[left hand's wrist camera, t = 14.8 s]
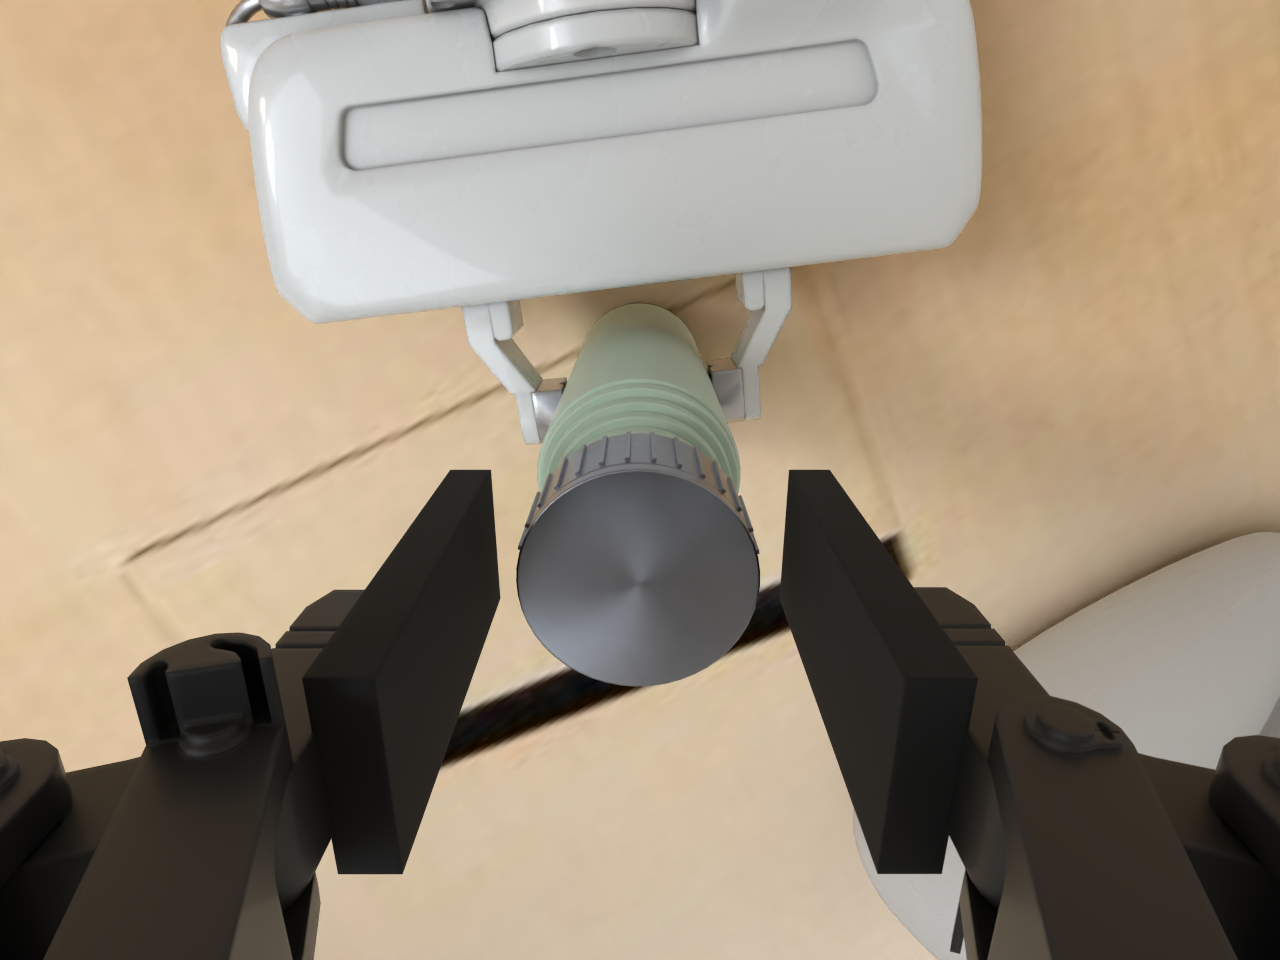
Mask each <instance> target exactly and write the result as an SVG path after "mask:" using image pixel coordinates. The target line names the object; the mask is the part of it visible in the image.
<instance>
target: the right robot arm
mask: <svg viewBox="0 0 1280 960" xmlns="http://www.w3.org/2000/svg"><path fill="white" fill-rule="evenodd" d="M262 9H263V11H264V12H265V14H266V15H267V16H268V17H270V18H273V19H266V20H259V21H252V22H248V21H249V20H250V18H251V17H252V16H253V15H255V14H256V13H257V12H259V11H261V10H262ZM220 44H221V55H222V61H223V64H224V68H225V72H226V75H227V79H228V83H229V86H230V90H231V94H232V97H233V101H234V105H235V108H236V111H237V113H238V116H239V118H240V120H241V122H242V123H243V125H244V127H245V128H246V130H247V131H248V133H249V135H250V146H251V155H252V164H253V172H254V181H255V188H256V194H257V201H258V207H259V214H260V220H261V225H262V230H263V236H264V241H265V246H266V251H267V255H268V260H269V265H270V269H271V273H272V277H273V280H274V284H275V286H276V289H277V291H278V292H279V294H280V296H281V297H282V298H283V299H284V300H285V301H286V302H288V303H289V304H290V305H291V306H292V307H293V308H294V309H295V310H296V311H297V312H299V313H300V314H301V315H302V316H303V317H304V318H306V319H307V320H308V321H310V322H312V323H315V324H323V323H332V322H340V321H349V320H357V319H365V318H373V317H382V316H390V315H398V314H407V313H415V312H423V311H431V310H440V309H448V308H456V307H462V311H463V316H464V321H465V326H466V331H467V336H468V341H469V345H470V346H471V348H472V349H473V350H474V351H475V352H476V353H477V355H478V356H479V357H480V358H481V359H482V361H483V362H484V363H485V364H486V365H487V366H488V368H489V369H490V370H491V371H492V372H493V373H494V375H495V376H496V377H497V378H498V379H499V381H500V382H501V383H502V384H503V385H504V386H505V388H506V389H507V390H508V391H509V392H510V393H511V394H515V395H516V401H517V406H518V412H519V417H520V423H521V428H522V434H523V439H524V441H525V443H526V445H530V444H541V443H543V441H544V438H545V436H546V433H547V431H548V428H549V426H550V423H551V421H552V419H553V416H554V414H555V411H556V409H557V406H558V404H559V402H560V399H561V397H562V394H563V392H564V389H565V387H566V385H567V378H555V379H544V380H542V377H541V376H540V375H539V373H538V372H537V371H536V369H535V368H534V367H533V366H532V364H531V363H530V362H529V360H528V359H527V358H526V356H525V355H524V354H523V352H522V351H521V350H520V349H519V347H518V346H517V345H516V343H515V342H514V341H513V339H512V337H513V336H514V335H515V334H516V333H517V332H518V331H519V330H520V328H521V327H522V326H523V319H522V313H521V307H520V301H519V300H522V299H530V298H539V297H547V296H555V295H563V294H572V293H580V292H588V291H596V290H605V289H613V288H621V287H629V286H638V285H646V284H654V283H662V282H671V281H679V280H687V279H695V278H704V277H712V276H720V275H728V274H735V280H736V292H737V300H738V301H739V302H740V303H741V304H742V305H743V306H744V307H745V308H747V309H748V310H749V311H751V313H750V315H749V317H748V319H747V322H746V324H745V326H744V328H743V330H742V332H741V335H740V337H739V339H738V341H737V343H736V346H735V348H734V350H733V352H732V354H731V358H725V359H718V360H711V361H707V371H708V376H709V378H710V381H711V383H712V386H713V388H714V391H715V393H716V396H717V398H718V401H719V403H720V406H721V408H722V411H723V413H724V416H725V418H726V421H727V422H735V421H744V420H753V419H760V415H761V404H760V388H759V372H758V366H761V365H763V363H764V361H765V359H766V357H767V355H768V353H769V351H770V349H771V347H772V345H773V343H774V341H775V339H776V337H777V335H778V333H779V331H780V329H781V327H782V325H783V323H784V321H785V319H786V317H787V316H788V314H789V312H790V310H791V308H792V299H791V274H790V267H794V266H803V265H811V264H819V263H827V262H836V261H844V260H852V259H860V258H869V257H877V256H885V255H893V254H902V253H910V252H918V251H926V250H934V249H942V248H946V247H948V246H950V245H951V244H952V243H953V242H954V241H955V240H956V239H957V237H958V236H959V235H960V233H961V232H962V230H963V229H964V228H965V226H966V225H967V223H968V222H969V220H970V219H971V217H972V216H973V214H974V213H975V211H976V209H977V207H978V205H979V200H980V194H981V183H982V104H981V87H980V71H979V61H978V50H977V41H976V32H975V23H974V17H973V12H972V8H971V4H970V0H241V1H240V2H239V3H238V4H237V5H236V7H235V8H234V9H233V11H232V12H231V14H230V16H229V18H228V20H227V23H226V26H225V28H224V29H223V31H222V33H221V40H220Z"/></svg>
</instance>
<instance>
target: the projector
mask: <svg viewBox="0 0 1280 960" xmlns="http://www.w3.org/2000/svg"><path fill="white" fill-rule="evenodd" d="M1013 652H1014V653H1015V654H1016V655H1017V657H1018V658H1019V659H1020V660H1021V661H1022V663H1023V664H1024V665H1025V666H1026V667H1027V669H1028V670H1029V671H1030V672H1031V673H1032V675H1033V676H1034V677H1035V678H1036V679H1037V681H1038V682H1039V683H1040V684H1041V685H1042V687H1043V688H1044V689H1045V690H1046V691H1047V693H1048V694H1049V695H1050V696H1053V697H1057V698H1061V699H1065V700H1069V701H1073V702H1076V703H1079V704H1081V705H1083V706H1085V707H1087V708H1090V709H1092V710H1094V711H1096V712H1099V713H1101V714H1102V715H1103V716H1105V717H1106V718H1108V719H1109V720H1110V721H1112V722H1113V723H1115V724H1116V725H1117V726H1119V727H1120V728H1121V729H1122V730H1123V731H1124V732H1125V734H1126V735H1127V736H1128V738H1129V739H1130V740H1131V741H1132V743H1133V744H1134V746H1135V748H1136V750H1137V752H1138V753H1140V754H1144V755H1148V756H1152V757H1156V758H1161V759H1166V760H1171V761H1176V762H1180V763H1185V764H1190V765H1195V766H1200V767H1205V768H1210V769H1215V770H1216V767H1217V764H1218V761H1219V758H1220V755H1221V752H1222V749H1223V746H1224V745H1225V744H1227V743H1228V742H1230V741H1231V740H1232V739H1234V738H1235V737H1243V736H1251V735H1261V736H1268V737H1275V738H1280V533H1276V532H1257V533H1252V534H1247V535H1243V536H1240V537H1236V538H1233V539H1230V540H1227V541H1225V542H1222V543H1220V544H1217V545H1215V546H1212V547H1210V548H1207V549H1205V550H1202V551H1200V552H1197V553H1195V554H1193V555H1190V556H1188V557H1186V558H1184V559H1182V560H1179V561H1177V562H1175V563H1173V564H1170V565H1168V566H1166V567H1164V568H1161V569H1159V570H1157V571H1155V572H1153V573H1151V574H1149V575H1147V576H1145V577H1143V578H1141V579H1139V580H1137V581H1135V582H1133V583H1131V584H1129V585H1127V586H1125V587H1123V588H1121V589H1119V590H1117V591H1115V592H1113V593H1111V594H1110V595H1108V596H1106V597H1104V598H1102V599H1100V600H1098V601H1096V602H1095V603H1093V604H1091V605H1089V606H1087V607H1085V608H1083V609H1082V610H1080V611H1078V612H1076V613H1075V614H1073V615H1071V616H1070V617H1068V618H1066V619H1065V620H1063V621H1061V622H1059V623H1058V624H1056V625H1054V626H1053V627H1051V628H1049V629H1047V630H1046V631H1044V632H1043V633H1041V634H1039V635H1038V636H1036V637H1035V638H1033V639H1032V640H1030V641H1028V642H1027V643H1025V644H1024V645H1022V646H1021V647H1019V648H1018V649H1016V650H1014V651H1013ZM853 826H854V835H855V840H856V845H857V848H858V851H859V854H860V857H861V860H862V862H863V865H864V867H865V869H866V871H867V873H868V876H869V878H870V880H871V882H872V884H873V885H874V887H875V889H876V890H877V892H878V894H879V895H880V897H881V898H882V900H883V901H884V903H885V904H886V905H887V907H888V908H889V909H890V910H891V912H892V913H893V914H894V915H895V916H896V917H897V919H898V920H899V921H900V922H901V923H902V924H903V925H904V926H905V927H906V929H907V930H908V931H909V932H910V933H911V934H912V935H913V936H914V937H915V938H916V939H917V940H918V941H919V942H920V943H921V944H922V945H923V946H924V947H925V948H926V949H927V950H928V951H929V952H930V953H931V954H932V955H933V956H934V957H936V958H937V959H938V960H967V958H966V950H965V942H964V938H963V943H962V948H961V953H960V954H958V953H954V952H950V946H951V939H952V933H953V928H954V923H955V918H956V913H957V908H958V903H959V898H960V893H961V888H962V883H963V878H964V873H965V867H964V865H963V863H962V861H961V858H960V856H959V854H958V852H957V850H956V848H955V846H954V844H953V842H952V840H951V838H950V836H949V838H948V844H947V849H946V854H945V860H944V865H943V871H942V874H877V871H876V868H875V866H874V863H873V860H872V857H871V854H870V851H869V849H868V846H867V843H866V840H865V837H864V834H863V832H862V829H861V826H860V823H859V820H858V818H857V815H856V812H855V809H854V814H853Z"/></svg>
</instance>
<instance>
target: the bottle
mask: <svg viewBox="0 0 1280 960" xmlns="http://www.w3.org/2000/svg"><path fill="white" fill-rule="evenodd" d="M629 431H631V434H632V433H645V434H650V432H655V434H656V435H661V436H665V437H670V438H674V437H677V438H678V439H679V441H681V442H684V443H686V444H688V445H690V446H692V447H694V448H695V447H696V446H697V447H699V448H700V452H702V453H703V454H705V455H706V456H708V457H709V458H710V459H711V460H712V461H714V460H716V461H717V462H718V464H719V468H720V469H721V470H722V471H723V472H724V473H725V475H726V476H727V477H729V476H730V477H731V478H732V480H733V483H734V486H735V489H736V492H737V495H738V492H739V485H740V462H739V455H738V451H737V448H736V444H735V441H734V439H733V436H732V434H731V431H730V428H729V426H728V423H727V421H726V418H725V416H724V413H723V411H722V408H721V406H720V403H719V401H718V398H717V396H716V393H715V391H714V388H713V386H712V383H711V381H710V378H709V376H708V373H707V370H706V368H705V365H704V363H703V360H702V358H701V355H700V353H699V350H698V348H697V345H696V343H695V340H694V338H693V336H692V334H691V332H690V331H689V329H688V328H687V326H686V325H685V324H684V323H683V322H682V321H681V320H680V319H679V318H678V317H677V316H676V315H674V314H673V313H671V312H670V311H668V310H666V309H664V308H661V307H659V306H655V305H651V304H643V303H637V304H628V305H624V306H621V307H618V308H616V309H613V310H611V311H610V312H608V313H607V314H605V315H604V316H602V317H601V318H600V319H599V320H598V321H597V322H596V323H595V324H594V325H593V327H592V328H591V330H590V331H589V333H588V335H587V337H586V339H585V341H584V343H583V346H582V348H581V351H580V353H579V355H578V358H577V360H576V363H575V365H574V368H573V370H572V372H571V375H570V377H569V380H568V382H567V385H566V387H565V389H564V392H563V394H562V397H561V399H560V402H559V404H558V406H557V409H556V411H555V414H554V416H553V419H552V421H551V423H550V426H549V428H548V431H547V433H546V436H545V438H544V441H543V444H542V447H541V450H540V455H539V460H538V473H537V477H538V487H539V492H540V493H541V491H542V489H543V486H544V483H545V480H546V477H547V475H548V474H549V473H551V474H552V473H553V472H554V471H555V470H556V469H557V468H558V467H559V465H560V464H561V462H562V459H563V458H564V457H566V458H568V457H570V456H571V455H572V454H573V453H575V452H577V451H578V450H580V449H581V446H582V445H584V444H585V445H586V446H587V445H589V444H591V443H593V442H596V441H598V440H601V439H603V436H606V435H607V436H608V437H611V436H616V435H622V434H626V432H629Z"/></svg>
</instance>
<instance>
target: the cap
mask: <svg viewBox="0 0 1280 960" xmlns="http://www.w3.org/2000/svg"><path fill="white" fill-rule="evenodd" d="M518 549H519V550H520V552H519V558H518V563H517V568H516V569H517V578H516V582H517V591H518V597H519V601H520V605H521V608H522V611H523V613H524V616H525V618H526V620H527V623H528V624H529V626H530V628H531V629H532V631H533V633H534V634H535V636H536V637H537V638H538V639H539V641H540V642H541V643H542V644H543V646H544V647H545V648H546V649H547V650H548V651H549V652H550V653H551V654H552V655H554V656H555V657H556V658H557V659H559V660H560V661H561V662H563V663H564V664H565V665H567V666H569V667H570V668H572V669H574V670H575V671H577V672H579V673H581V674H584V675H586V676H588V677H591V678H593V679H596V680H600V681H603V682H606V683H612V684H617V685H625V686H653V685H659V684H666V683H670V682H673V681H677V680H681V679H683V678H686V677H688V676H691V675H694V674H696V673H697V672H699V671H701V670H703V669H705V668H707V667H708V666H710V665H711V664H713V663H714V662H715V661H717V660H718V659H720V658H721V657H722V656H723V655H724V654H725V653H726V652H727V651H728V650H730V649H731V647H732V646H733V645H734V644H735V643H736V642H737V640H738V639H739V638H740V636H741V635H742V633H743V632H744V630H745V629H746V627H747V626H748V623H749V621H750V619H751V617H752V615H753V613H754V610H755V606H756V603H757V600H758V594H759V588H760V568H759V561H758V555H757V554H759V549H758V546H757V543H756V540H755V537H754V534H753V528H752V525H751V522H750V519H749V516H748V513H747V510H746V507H745V505H744V502H743V499H742V496H741V495H740V496H738V495H737V492H736V489H735V486H734V483H733V480H732V478H731V477H730V476H729V477H727V476H726V475H725V473H724V472H723V471H722V470H721V469H720V468H719V464H718V462H717V461H716V460H714V461H712V460H711V459H710V458H709V457H708V456H706V455H705V454H703V453H702V452H700V448H699V447H697V446H696V447H695V448H694V447H692V446H690V445H688V444H686V443H684V442H681V441H679V439H678V438H677V437H674V438H670V437H665V436H661V435H656V434H655V432H650V434H645V433H632V434H631V431H629V432H626V434H622V435H616V436H611V437H608V436H607V435H606V436H603V439H601V440H598V441H596V442H593V443H591V444H589V445H587V446H586V445H585V444H584V445H582V446H581V449H580V450H578V451H577V452H575V453H573V454H572V455H571V456H570V457H568V458H566V457H564V458H563V459H562V462H561V464H560V465H559V467H558V468H557V469H556V470H555V471H554V472H553V473H552V474H551V473H549V474H548V475H547V477H546V480H545V483H544V486H543V489H542V491H541V493H540V492H537V494H536V496H535V499H534V502H533V505H532V508H531V510H530V513H529V516H528V519H527V521H526V524H525V529H524V532H523V535H522V537H521V540H520V543H519V546H518Z"/></svg>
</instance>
